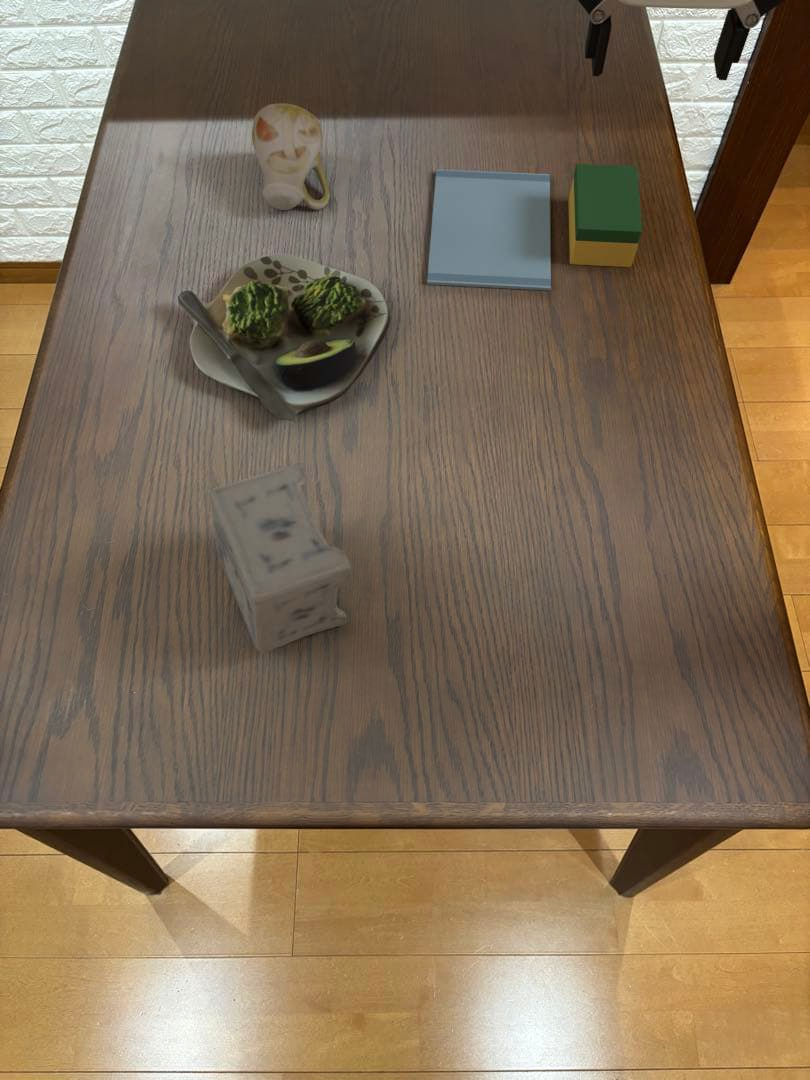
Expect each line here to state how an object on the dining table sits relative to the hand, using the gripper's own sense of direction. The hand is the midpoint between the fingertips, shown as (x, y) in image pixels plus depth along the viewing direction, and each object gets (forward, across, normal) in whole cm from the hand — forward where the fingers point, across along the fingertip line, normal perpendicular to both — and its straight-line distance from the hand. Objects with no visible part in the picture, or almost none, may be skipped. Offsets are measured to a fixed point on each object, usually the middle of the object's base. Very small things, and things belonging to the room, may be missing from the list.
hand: (657, 67), depth 65 cm
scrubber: (+19, -1, +3) cm, 19 cm away
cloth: (+19, -12, +3) cm, 22 cm away
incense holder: (+20, -27, -38) cm, 51 cm away
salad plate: (+19, -30, -13) cm, 38 cm away
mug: (+19, -33, +8) cm, 39 cm away
